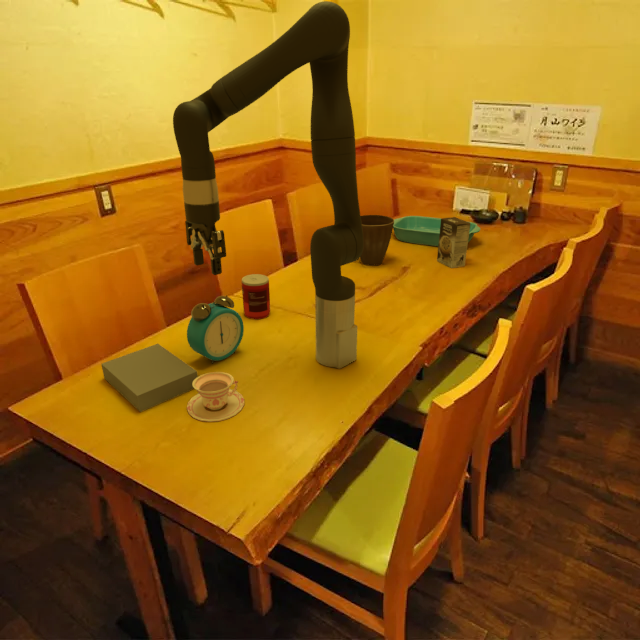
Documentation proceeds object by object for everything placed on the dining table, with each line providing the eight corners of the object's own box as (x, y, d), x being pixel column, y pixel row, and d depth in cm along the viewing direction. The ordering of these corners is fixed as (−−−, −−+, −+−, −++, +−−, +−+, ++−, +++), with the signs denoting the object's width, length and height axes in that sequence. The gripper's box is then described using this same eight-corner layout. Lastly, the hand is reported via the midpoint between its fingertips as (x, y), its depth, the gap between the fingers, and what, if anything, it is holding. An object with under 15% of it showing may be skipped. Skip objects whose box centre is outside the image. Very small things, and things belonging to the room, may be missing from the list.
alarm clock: (204, 370, 123) (197, 312, 116) (188, 361, 126) (181, 305, 120) (246, 350, 131) (242, 295, 125) (230, 342, 135) (225, 289, 129)
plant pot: (369, 272, 182) (371, 227, 175) (343, 261, 193) (343, 218, 186) (400, 263, 190) (403, 220, 183) (373, 253, 201) (374, 212, 194)
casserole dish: (382, 241, 216) (383, 224, 213) (400, 228, 234) (401, 212, 231) (471, 254, 200) (473, 236, 197) (483, 239, 218) (485, 222, 215)
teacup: (188, 427, 103) (184, 401, 101) (185, 394, 114) (182, 370, 111) (248, 417, 106) (246, 392, 103) (240, 386, 116) (238, 362, 114)
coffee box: (436, 261, 193) (440, 218, 186) (450, 258, 195) (454, 216, 188) (451, 268, 185) (456, 224, 178) (465, 266, 188) (471, 222, 181)
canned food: (257, 306, 156) (254, 272, 151) (276, 313, 151) (274, 278, 147) (238, 314, 151) (235, 279, 146) (257, 322, 146) (255, 285, 141)
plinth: (198, 386, 116) (197, 371, 114) (140, 412, 108) (137, 395, 106) (160, 357, 128) (157, 343, 126) (104, 378, 119) (101, 363, 118)
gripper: (233, 202, 111) (237, 274, 118) (201, 192, 121) (207, 258, 128) (201, 207, 107) (208, 281, 113) (171, 196, 116) (179, 264, 123)
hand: (207, 269), depth 121 cm, fingers open, 8 cm apart
